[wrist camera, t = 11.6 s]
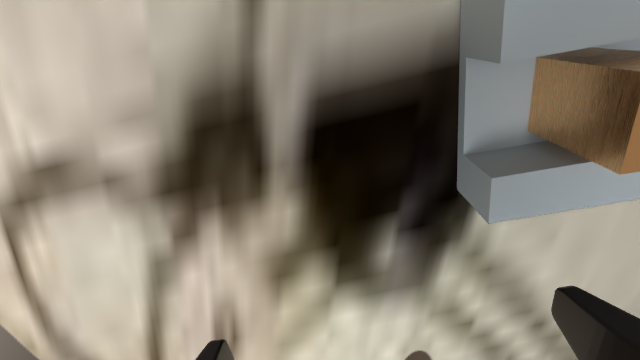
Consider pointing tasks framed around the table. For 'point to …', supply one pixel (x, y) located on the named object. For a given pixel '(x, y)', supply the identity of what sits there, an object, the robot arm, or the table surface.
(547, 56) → the brown wooden block
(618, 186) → the bracket
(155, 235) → the table surface
